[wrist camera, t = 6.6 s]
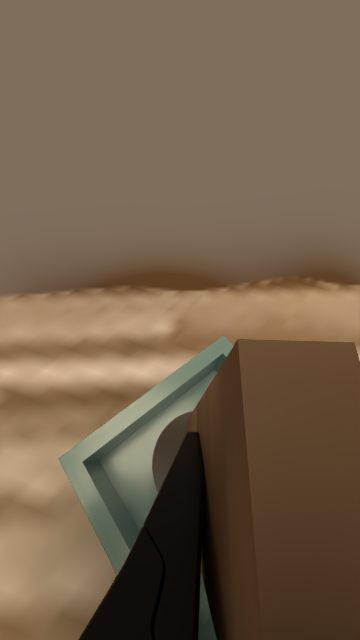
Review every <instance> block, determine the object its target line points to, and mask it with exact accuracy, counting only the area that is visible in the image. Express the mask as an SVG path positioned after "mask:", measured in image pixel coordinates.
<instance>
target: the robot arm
mask: <svg viewBox="0 0 360 640" xmlns="http://www.w3.org/2000/svg"><path fill="white" fill-rule="evenodd" d="M204 480H205V470H204V462H203V456H202V449H201V443H200V437H199V432H191V431H189V432H187V433H186V435H185V437H184V439H183V441H182V443H181V445H180V447H179V449H178V452H177V454H176V456H175V458H174V460H173V462H172V464H171V466H170V469H169V471H168V473H167V475H166V477H165V479H164V481H163V483H162V486H161V488H160V490H159V492H158V494H157V496H156V498H155V500H154V503H153V505H152V507H151V509H150V511H149V513H148V515H147V517H146V520H145V522H144V524H143V527H142V528H141V530H140V532H139V534H138V536H137V538H136V540H135V542H134V544H133V546H132V548H131V550H130V552H129V554H128V556H127V558H126V560H125V562H124V564H123V566H122V568H121V570H120V571H119V573H118V575H117V576H116V578H115V580H114V582H113V583H112V585H111V587H110V589H109V590H108V592H107V594H106V595H105V597H104V599H103V600H102V602H101V604H100V605H99V607H98V608H97V610H96V612H95V613H94V615H93V617H92V618H91V620H90V621H89V623H88V625H87V626H86V628H85V630H84V631H83V633H82V635H81V636H80V638H79V639H78V640H198V633H199V608H200V582H201V557H202V531H203V506H204Z"/></svg>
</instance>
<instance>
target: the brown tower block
mask: <svg viewBox="0 0 360 640" xmlns="http://www.w3.org/2000/svg"><path fill="white" fill-rule="evenodd" d="M189 431H191V432H199V437H200V443H201V449H202V456H203V462H204V470H205V480H204V506H203V531H202V557H201V574H202V578H203V583H204V587H205V591H206V596H207V600H208V604H209V609H210V613H211V617H212V622H213V626H214V630H215V635H216V639H217V640H360V361H359V357H358V354H357V350H356V347H355V343H354V342H318V341H281V340H245V339H238V340H237V341H236V343H235V345H234V346H233V348H232V349H231V351H230V353H229V354H228V356H227V357H226V359H225V361H224V362H223V364H222V365H221V367H220V369H219V370H218V372H217V373H216V375H215V377H214V378H213V380H212V381H211V383H210V385H209V386H208V388H207V389H206V391H205V393H204V394H203V396H202V397H201V399H200V401H199V402H198V404H197V405H196V407H195V409H194V410H193V411H191V412H187V413H184V414H182V415H180V416H178V417H176V418H175V419H173V420H172V421H171V422H170V423H169V424H168V425H167V426H166V427H165V428H164V430H163V431H162V433H161V434H160V436H159V438H158V440H157V442H156V445H155V448H154V452H153V459H152V472H153V479H154V483H155V486H156V489H157V492H159V490H160V488H161V486H162V483H163V481H164V479H165V477H166V475H167V473H168V471H169V469H170V466H171V464H172V462H173V460H174V458H175V456H176V454H177V452H178V449H179V447H180V445H181V443H182V441H183V439H184V437H185V435H186V433H187V432H189Z"/></svg>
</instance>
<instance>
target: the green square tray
mask: <svg viewBox="0 0 360 640" xmlns="http://www.w3.org/2000/svg"><path fill="white" fill-rule="evenodd" d="M232 348H233V345H232V344H231V343H230V341H229V340H228V339H227V338H226V337H225V336H224V335H223V336H222V337H221V338H219V339H218V340H217V341H215V342H214V343H213V344H211V345H210V346H209V347H207V348H206V349H205V350H203V351H202V352H201V353H199V354H198V355H197V356H195V357H194V358H193V359H191V360H190V361H189V362H187V363H186V364H185V365H183V366H182V367H181V368H179V369H178V370H176V371H175V372H174V373H172V374H171V375H170V376H168V377H167V378H166V379H164V380H163V381H162V382H160V383H159V384H158V385H156V386H155V387H154V388H152V389H151V390H150V391H148V392H147V393H146V394H144V395H143V396H142V397H140V398H139V399H138V400H136V401H135V402H134V403H132V404H131V405H129V406H128V407H127V408H125V409H124V410H123V411H121V412H120V413H119V414H117V415H116V416H115V417H113V418H112V419H111V420H109V421H108V422H107V423H105V424H104V425H103V426H101V427H100V428H99V429H97V430H96V431H95V432H93V433H92V434H91V435H89V436H88V437H87V438H85V439H84V440H83V441H81V442H80V443H78V444H77V445H76V446H74V447H73V448H72V449H70V450H69V451H68V452H66V453H65V454H64V455H62V456H61V457H60V458H58V459H59V461H60V463H61V465H62V467H63V469H64V471H65V473H66V475H67V477H68V479H69V480H70V482H71V484H72V486H73V488H74V490H75V492H76V494H77V496H78V498H79V500H80V502H81V504H82V506H83V508H84V510H85V512H86V514H87V516H88V518H89V520H90V522H91V524H92V526H93V528H94V530H95V532H96V534H97V536H98V538H99V540H100V542H101V544H102V546H103V548H104V550H105V552H106V554H107V556H108V558H109V560H110V562H111V564H112V566H113V568H114V570H115V572H116V573H117V575H118V573H119V571H120V570H121V568H122V566H123V564H124V562H125V560H126V558H127V556H128V554H129V552H130V550H131V548H132V546H133V544H134V542H135V540H136V538H137V536H138V534H139V532H140V530H141V528H142V527H143V524H144V522H145V520H146V517H147V515H148V513H149V511H150V509H151V507H152V505H153V503H154V500H155V498H156V496H157V494H158V492H157V489H156V486H155V483H154V479H153V472H152V459H153V452H154V448H155V445H156V442H157V440H158V438H159V436H160V434H161V433H162V431H163V430H164V428H165V427H166V426H167V425H168V424H169V423H170V422H171V421H172V420H173V419H175V418H176V417H178V416H180V415H182V414H184V413H187V412H191V411H193V410H194V409H195V407H196V405H197V404H198V402H199V401H200V399H201V397H202V396H203V394H204V393H205V391H206V389H207V388H208V386H209V385H210V383H211V381H212V380H213V378H214V377H215V375H216V373H217V372H218V370H219V369H220V367H221V365H222V364H223V362H224V361H225V359H226V357H227V356H228V354H229V353H230V351H231V349H232ZM198 640H217V639H216V635H215V630H214V626H213V622H212V617H211V613H210V609H209V604H208V600H207V596H206V591H205V587H204V583H203V578H202V574H201V582H200V608H199V633H198Z"/></svg>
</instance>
